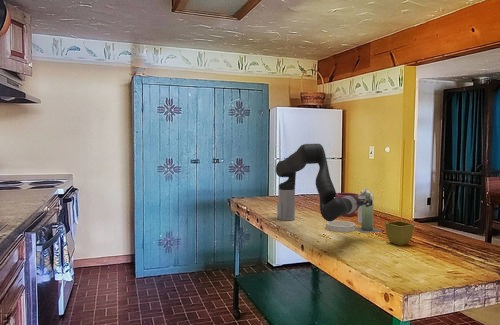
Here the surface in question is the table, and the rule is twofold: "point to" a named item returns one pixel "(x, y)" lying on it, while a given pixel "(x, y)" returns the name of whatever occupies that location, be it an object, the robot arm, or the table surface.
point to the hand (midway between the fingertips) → (360, 200)
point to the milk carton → (361, 206)
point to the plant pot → (344, 196)
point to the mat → (368, 231)
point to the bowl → (340, 226)
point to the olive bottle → (367, 216)
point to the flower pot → (399, 232)
